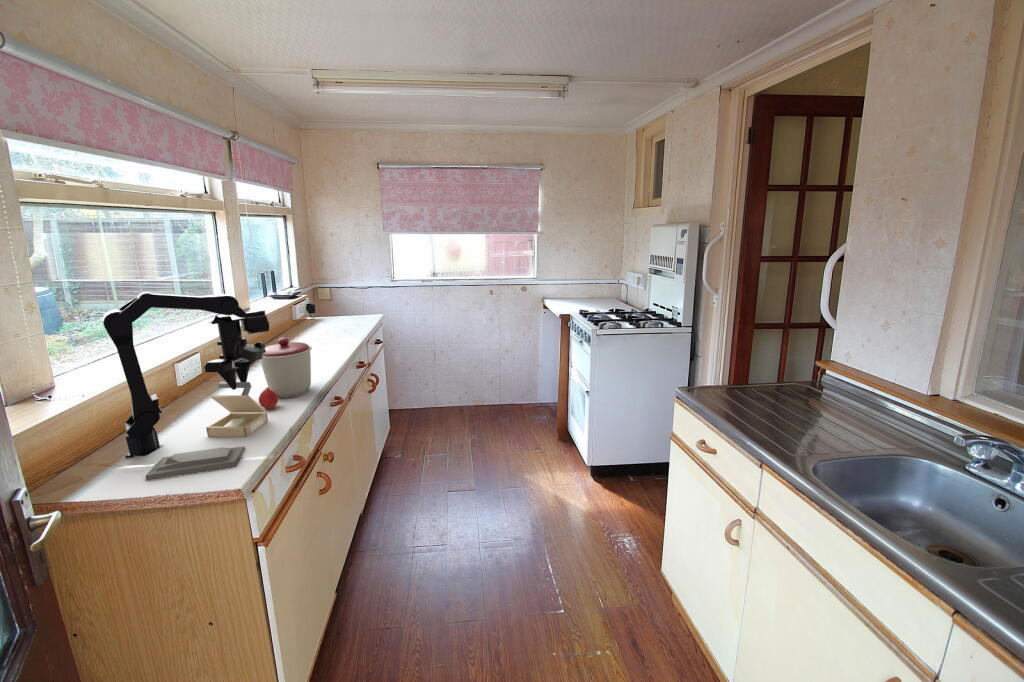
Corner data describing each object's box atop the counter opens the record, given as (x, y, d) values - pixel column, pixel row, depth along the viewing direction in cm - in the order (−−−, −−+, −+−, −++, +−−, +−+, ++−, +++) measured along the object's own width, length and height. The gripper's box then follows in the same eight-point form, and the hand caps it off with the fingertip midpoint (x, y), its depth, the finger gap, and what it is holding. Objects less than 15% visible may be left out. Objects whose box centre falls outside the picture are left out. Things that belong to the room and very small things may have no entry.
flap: (247, 397, 142) (253, 380, 145) (210, 397, 143) (217, 381, 146) (265, 412, 151) (271, 397, 154) (230, 412, 152) (236, 397, 155)
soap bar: (238, 432, 144) (237, 426, 144) (224, 433, 144) (223, 426, 143) (247, 424, 150) (246, 418, 149) (233, 424, 150) (232, 418, 149)
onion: (258, 414, 159) (255, 391, 157) (262, 407, 165) (258, 385, 163) (278, 411, 161) (274, 388, 159) (281, 405, 166) (277, 383, 164)
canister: (252, 400, 172) (242, 343, 167) (286, 384, 189) (278, 331, 184) (296, 403, 167) (287, 344, 162) (327, 386, 184) (320, 332, 179)
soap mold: (163, 463, 129) (161, 451, 128) (246, 452, 134) (244, 440, 133) (146, 482, 119) (143, 470, 118) (236, 469, 124) (233, 457, 123)
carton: (247, 438, 141) (245, 427, 140) (208, 438, 142) (206, 427, 141) (268, 423, 152) (266, 412, 151) (232, 422, 153) (230, 412, 152)
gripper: (235, 343, 134) (244, 397, 137) (274, 330, 152) (281, 378, 155) (198, 343, 135) (207, 397, 138) (241, 331, 153) (248, 378, 156)
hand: (239, 387), depth 147 cm, fingers open, 4 cm apart
